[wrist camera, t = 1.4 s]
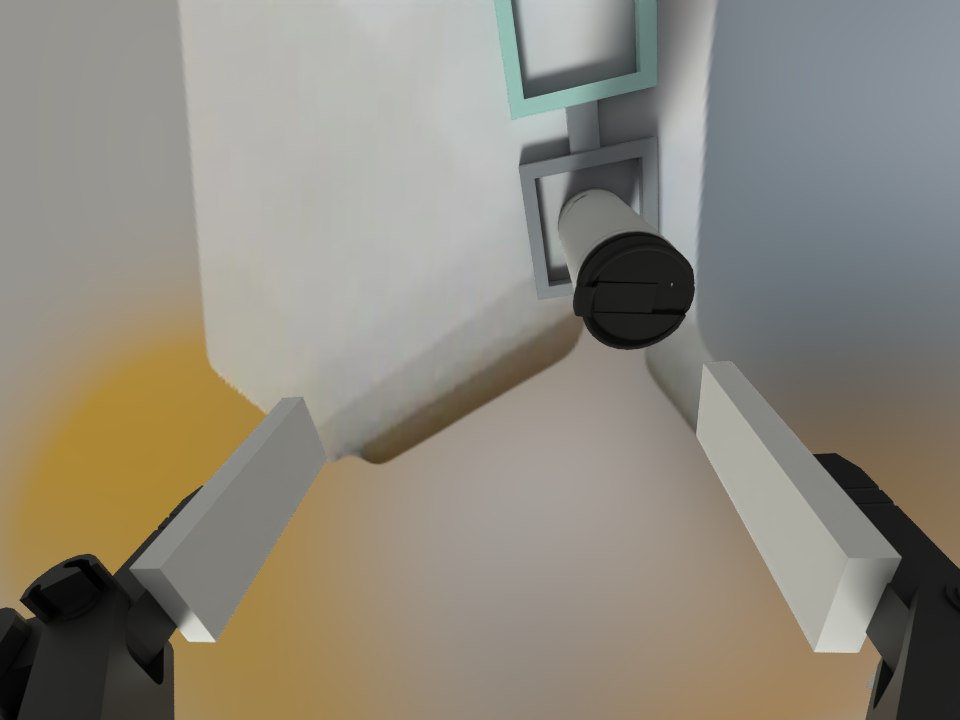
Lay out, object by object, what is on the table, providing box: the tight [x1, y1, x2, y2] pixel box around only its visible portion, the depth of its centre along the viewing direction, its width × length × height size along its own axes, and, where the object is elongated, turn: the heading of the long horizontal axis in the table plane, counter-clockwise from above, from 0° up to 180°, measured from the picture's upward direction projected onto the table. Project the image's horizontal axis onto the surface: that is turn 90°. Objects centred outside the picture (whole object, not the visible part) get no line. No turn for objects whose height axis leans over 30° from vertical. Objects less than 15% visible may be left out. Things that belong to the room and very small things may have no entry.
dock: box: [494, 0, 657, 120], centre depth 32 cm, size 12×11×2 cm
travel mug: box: [558, 188, 695, 350], centre depth 31 cm, size 6×7×20 cm
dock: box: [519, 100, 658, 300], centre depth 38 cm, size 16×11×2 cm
